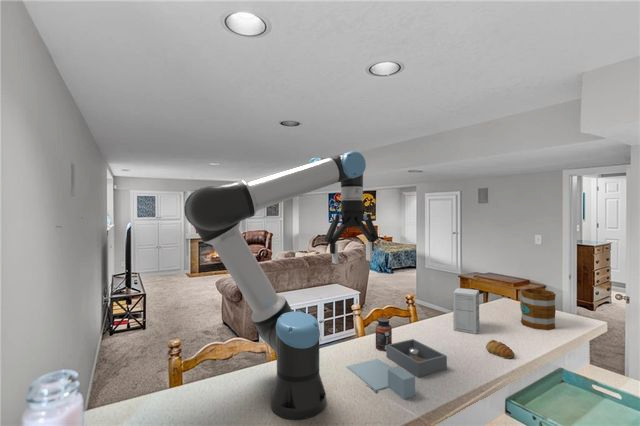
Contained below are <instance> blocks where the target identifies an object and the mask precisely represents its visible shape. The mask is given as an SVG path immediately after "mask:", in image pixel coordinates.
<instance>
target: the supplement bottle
mask: <svg viewBox="0 0 640 426" xmlns="http://www.w3.org/2000/svg"><path fill="white" fill-rule="evenodd" d="M377 322H378V323H377V324H376V325H375V350H377V351H379V352H386V345H388V344H393V343H392V342H393V341H392V340H393V339H392V337H393V336H392V334H393V332H392V331H393V330H392V329H393V328H392V327H393V326H392V325H390V320H389V318H386V317H385V318H384V317H380V318H378V320H377Z"/></svg>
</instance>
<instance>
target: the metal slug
mask: <svg viewBox="0 0 640 426" xmlns="http://www.w3.org/2000/svg"><path fill="white" fill-rule="evenodd" d="M415 356H417V357H419V348H416V347H410V348H409V357H411V358H412V357H415Z"/></svg>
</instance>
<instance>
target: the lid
mask: <svg viewBox="0 0 640 426" xmlns="http://www.w3.org/2000/svg"><path fill="white" fill-rule="evenodd" d="M346 368H347V369H348V370H349V371H351V372H352V373H353V374H354V375H355V376H357V377H358V378H359V379H360V380H362V381H363V382H364V384H365V386H366V387H368V388H369V389H370V390H372V392H374V393H375V394H378V393H379V391H381V390H383V389H384V390H385V389H387V388H388V389H389V390H391V391H392V392H394V393H395V394H396V395H397V396H398V397H400V398H401V399H402V400H406V399H409V398H412V397H416V376H415V375H413V374H412V373H410V372H408V371H407V370H405V369H404V368H402V367H401V366H399V365H398V366H395V367H392V366H390V365H388V364H387V363H386V362H384V361H382V360H381V359H380V358H374V359H370V360H366V361H362V362H357V363H354V364H349V365H346Z"/></svg>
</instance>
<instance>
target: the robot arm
mask: <svg viewBox="0 0 640 426" xmlns="http://www.w3.org/2000/svg"><path fill="white" fill-rule="evenodd" d="M366 166H367V163H366V159H365V157H364V155H363V154H362V153H360V152H359V151H356V150H352V151H351V150H350V151H347V152H344V153H340V154H337V155H333V156H329V157H312V158H311V159H310V160H309V161H308V164H304V165H301V166H298V167H294V168H292V169H288V170H285V171H282V172H281V171H280V172H277V173H275V174H271V175H269V176H266V177H265V176H264V177H261V178H259V179H255V180H252V181H248V182H246V181H245V180H242V179H241V180H239V181H235V182H231V183H230V182H229V183H225V184H219V185H218V184H217V185H209V186H205V187H200V188H198V189H195V190H194V191H192V192H191V193H190V194H189V195H188V197H187V198H186V200H185V202H184V206H183V208H184V216H185V219H186V220H187V221H188V223H189V224H191V226H192V227H193V229H195V231H196V232H197V234H198V235H199V237H200V239H201V241H202V242H203V243H204V244H207V245H208V244H209V245H211V246H212V247H213V249H214V251H215V252H216V254H217V255H218V257H219V259H220V261H221V262H222V264H223V265H224V267H225V269H226V270H227V271H228V272H227V273H228V274H229V275H230V277H231V278H232V279H233V281H234V283H235V284H236V286H237V288H238V289H239V291H240V292H241V294H242V297H244V299H245V301H246V302H247V304H248V306H249V308H250V309H251V311H252V312H251V317H250V319H251V321H252V322H253V324H254V325H255V328H256V331H257V332H258V335H259V337H260V338H261V339H262V340H263V341H264V342H265V343H266V344H267V345H268V346H269V347H270V348H271V349H272V350H273V351H274V353H275V354H276V377H275V380H274V384H273V387H272V390H271V394H270V408H271V410H272V411H273V413H274V414H275V415H277V416H279V417H281V418H285V419H288V420H289V419H291V420H302V419H303V420H304V419H308V418H312V417H314V416H316V415H318V414H320V413H321V412H323V410H324V409H325V407H326V405H327V393H326V389H325V386H324V383H323V381H322V377H321V374H320V338H321V332H320V326H319V325H320V324H319V321H318V319H317V318H316V317H315V316H313V315H312V314H310V313H307V312H303V311H294V310H293V309H292V307H291V306H290V304H289V303H288V300H287V299H286V298H285V296H283V295H278V294H277V292H276V290H275V288H274V287H273V285H272V284H271V282H270V280H269V278H268V277H267V275H266V273H265V272H264V270H263V268H262V267H261V265H260V263H259V261H258V260H257V258H256V256H255V255H254V252H253V251H252V250H251V248H250V246H249V244H248V243H247V241H246V239H245V237H244V236H243V235H242V233H241V230H240V225H241V222H243V221H245V220H247V219H249V218H252V217H255V216H256V214H257V211H260V210H263V209H266V208H269V207H271V206H274V205H278V204H280V203H283V202H285V201H288V200H291V199H294V198H297V197H300V196H303V195H306V194H309V193H312V192H314V191H317V190H320V189H322V188H325V187H328V186H331V185H335V184H337V183H340V199H342V200H341V202H340V205H341V206H340V211H341V213H340V214H338V213H335V214H333V215H332V221H331V223H330V225H329V228H328V230H327V233H326V235H325V237H324V240H323V241H324V242H325V243H328V244H329V253H330V254H331V262H332V263H331V264H335V265H338V264H339V244H338V243H337V242H338V240H339V239H340V237H341V236H342V235H343V233H344V232H345V230H347V228H358V230H360V232H361V233H362V235H363V236H364V237H365V239H366V240H367V241H365V260H366V261H369V262H372V261H373V251H374V249H375V242H376V241H378V240H379V238H380V237H379V235H378V232H377V230H376V228H375V226H374V224H373V221H372V214H371V213H364V201H363V200H362V199H364V172H365V171H366ZM363 213H364V214H363ZM363 220H364V222H363ZM340 221H341V223H340V224H339V222H340ZM338 225H339V227H338ZM365 225H366V226H365ZM337 227H338V228H337Z"/></svg>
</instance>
